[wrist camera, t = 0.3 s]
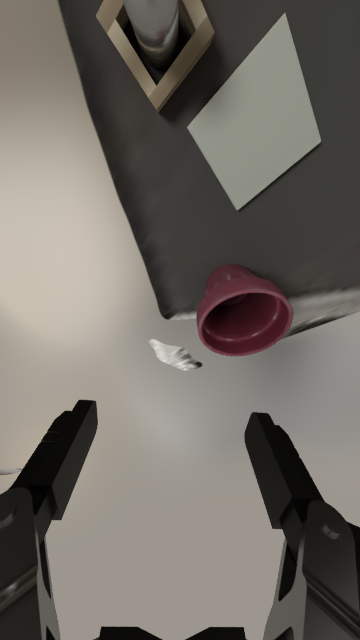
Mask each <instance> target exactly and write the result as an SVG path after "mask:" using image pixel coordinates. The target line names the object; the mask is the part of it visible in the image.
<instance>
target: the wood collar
mask: <svg viewBox="0 0 360 640" xmlns="http://www.w3.org/2000/svg"><path fill="white" fill-rule="evenodd" d="M179 12H180V14H181V16H182V18H183V20H184V22H185V24H186V26H187V28H188V30H189V32H190V34H191V36H192V37H191V38H190V40H189V41H188V43H187V44H186V45H185V47H184V48H183V50H182V51H181V52H180V54H179V55H178V57H177V58H176V59H175V61H174V62H173V64H172V65H171V66H170V68H169V69H168V71H167V72H166V73H165V75H164V76H163V78H162V79H161V81H160V82H159V83H158V85H157V86H156V85H155V83H154V81H153V80H152V78H151V77H150V75H149V73H148V72H147V70H146V68H145V67H144V65H143V64H142V62H141V60H140V59H139V57H138V55H137V54H136V52H135V50H134V49H133V47H132V46H131V44H130V42H129V41H128V39H127V37H126V36H125V34H124V33H123V30H124V28H125V26H126V25H127V23H128V21H129V16H128V14H127V11H126V9H125V6H124V3H123V1H122V0H104V1H103V3H102V5H101V7H100V9H99V11H98V13H97V15H96V17H97V19H98V20H99V22H100V24H101V25H102V27H103V28H104V30H105V31H106V33H107V34H108V36H109V37H110V39H111V41H112V42H113V44H114V45H115V47H116V48H117V50H118V51H119V53H120V54H121V56H122V58H123V59H124V61H125V62H126V64H127V65H128V67H129V68H130V70H131V71H132V73H133V75H134V76H135V78H136V79H137V81H138V82H139V84H140V85H141V87H142V88H143V90H144V92H145V93H146V95H147V96H148V98H149V99H150V101H151V102H152V104H153V106H154V107H155V109H156V110H157V112H158V113H159V111H160V110H161V109H162V108H163V106H164V105H165V104H166V102H167V101H168V100H169V98H170V97H171V96H172V94H173V93H174V92H175V90H176V89H177V88H178V86H179V85H180V84H181V83H182V81H183V80H184V79H185V77H186V76H187V75H188V73H189V72H190V71H191V69H192V68H193V67H194V65H195V64H196V63H197V61H198V60H199V59H200V58H201V56H202V55H203V54H204V52H205V51H206V50H207V48H208V47H209V46H210V44H211V42H212V39H213V36H214V33H215V32H214V30H213V28H212V25H211V23H210V21H209V18H208V16H207V14H206V11H205V9H204V7H203V4H202V2H201V0H179Z"/></svg>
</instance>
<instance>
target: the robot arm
mask: <svg viewBox="0 0 360 640" xmlns="http://www.w3.org/2000/svg"><path fill="white" fill-rule="evenodd" d="M97 425H98V419H97V407H96V401H92V400H79V401H78V402H77V403H76V405H75V407H74V408H73V410H72V411H64V412H63V413H62V414H61V415H60V416H59V417H57V418H56V419H55V420H54V422H53V423H52V425H51V426H50V428H49V429H48V432H47V433H46V434H45V436H44V437H43V439H42V440H41V443H40V444H39V445H38V447H37V448H36V450H35V451H34V453H33V454H32V456H31V457H30V459H29V460H28V462H27V464H26V465H25V467H24V468H23V470H22V471H21V473H20V474H19V476H18V477H17V479H16V481H15V482H14V483H13V485H12V486H11V487H10V488H9V489H8V490H7V491H5V492H4V493H2V494H0V640H60V632H59V626H58V620H57V614H56V610H55V606H54V599H53V593H52V585H51V577H50V569H49V561H48V555H47V547H46V538H45V535H46V532H47V530H48V528H49V525H50V523H51V520H61V519H62V517H63V514H64V511H65V509H66V507H67V504H68V502H69V499H70V497H71V494H72V492H73V489H74V487H75V484H76V482H77V479H78V477H79V474H80V472H81V469H82V467H83V464H84V462H85V459H86V456H87V454H88V451H89V449H90V447H91V444H92V442H93V439H94V436H95V434H96V430H97ZM245 444H246V448H247V450H248V454H249V457H250V460H251V463H252V466H253V469H254V472H255V476H256V479H257V482H258V485H259V488H260V491H261V494H262V497H263V500H264V504H265V506H266V510H267V513H268V516H269V519H270V522H271V525H272V528H273V529H282V530H283V532H284V535H285V541H284V545H283V550H282V556H281V562H280V568H279V573H278V579H277V585H276V591H275V597H274V602H273V605H272V608H271V611H270V614H269V616H268V620H267V623H266V627H265V632H264V637H263V640H360V527H358V526H355V525H353V524H351V523H349V522H347V521H346V520H345V519H344V518H343V517H342V515H341V514H340V513H339V512H338V511H337V510H336V509H335V508H333V507H332V506H331V505H329V504H327V503H326V502H325V501H324V500H323V498H322V496H321V495H320V493H319V491H318V489H317V487H316V485H315V483H314V482H313V480H312V478H311V476H310V474H309V472H308V471H307V469H306V467H305V465H304V463H303V462H302V460H301V458H300V457H299V454H298V452H297V450H296V449H295V448H294V445H293V443H292V441H291V439H290V438H289V436H288V434H287V433H286V432H285V431H284V430H283V429H282V428H281V427H280V426H279V425H274V423H273V421H272V419H271V417H270V415H269V414H268V413H257V412H253V413H252V414H251V416H250V419H249V422H248V424H247V427H246V430H245ZM94 640H162V639H160V638H158V637H156V636H154V635H152V634H150V633H148V632H147V631H145V630H143V629H141V628H139V627H101V631H100V636H99V637H98V638H96V639H94ZM186 640H246V638H245V632H244V627H209V628H207V629H205V630H203V631H201V632H199V633H197V634H195V635H194V636H191V637H190V638H188V639H186Z"/></svg>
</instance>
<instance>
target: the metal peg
mask: <svg viewBox="0 0 360 640" xmlns="http://www.w3.org/2000/svg"><path fill="white" fill-rule="evenodd" d="M122 1H123V3H124V6H125V9H126V11H127V14H128V16H129V19H130V22H131V24H132V27H133V29H134V32H135V35H136V37H137V40H138V42H139V45H140V48H141V50H142V53H143V55H144V57H145V59H146V60H147V62H148V63H149V64H150V65H151V66H153V67H155V68H158V69H161V68H165V67H167V66H168V65H169V64H170V63H171V62H172V60H173V59H174V56H175V54H176V51H177V46H178V11H179V0H122Z"/></svg>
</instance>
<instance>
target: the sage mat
mask: <svg viewBox="0 0 360 640" xmlns="http://www.w3.org/2000/svg"><path fill="white" fill-rule="evenodd" d="M187 129H188V130H189V132H190V134H191V135H192V137H193V139H194V140H195V142H196V144H197V145H198V147H199V149H200V150H201V152H202V154H203V155H204V157H205V159H206V160H207V162H208V164H209V165H210V167H211V169H212V170H213V172H214V174H215V175H216V177H217V179H218V180H219V182H220V184H221V185H222V187H223V189H224V190H225V192H226V194H227V195H228V197H229V199H230V200H231V202H232V204H233V205H234V207H235V209H236V210H239V209H240V208H241V207H242V206H244V205H245V204H246V203H247V202H248V201H250V200H251V199H252V198H253V197H254V196H256V195H257V194H258V193H259V192H261V191H262V190H263V189H264V188H265V187H267V186H268V185H269V184H270V183H271V182H273V181H274V180H275V179H276V178H278V177H279V176H280V175H281V174H282V173H284V172H285V171H286V170H287V169H288V168H290V167H291V166H292V165H293V164H295V163H296V162H297V161H298V160H299V159H301V158H302V157H303V156H304V155H305V154H307V153H308V152H309V151H310V150H312V149H313V148H314V147H315V146H316V145H318V144H319V143H320V142H321V139H320V135H319V132H318V128H317V124H316V121H315V117H314V114H313V110H312V107H311V103H310V100H309V96H308V92H307V89H306V85H305V82H304V78H303V75H302V71H301V68H300V64H299V60H298V57H297V53H296V50H295V46H294V43H293V39H292V36H291V32H290V29H289V25H288V21H287V18H286V14H285V13H284V14H283V15H282V17H281V18H280V19H279V20H278V21H277V22H276V24H275V25H274V26H273V27H272V28H271V30H270V31H269V32H268V33H267V34H266V35H265V37H264V38H263V39H262V40H261V41H260V42H259V44H258V45H257V46H256V47H255V48H254V49H253V51H252V52H251V53H250V54H249V55H248V56H247V58H246V59H245V60H244V61H243V62H242V63H241V65H240V66H239V67H238V68H237V69H236V70H235V72H234V73H233V74H232V75H231V76H230V78H229V79H228V80H227V81H226V82H225V83H224V85H223V86H222V87H221V88H220V89H219V90H218V92H217V93H216V94H215V95H214V96H213V97H212V99H211V100H210V101H209V102H208V103H207V104H206V106H205V107H204V108H203V109H202V110H201V111H200V113H199V114H198V115H197V116H196V117H195V118H194V120H193V121H192V122H191V123H190V124H189V126H188V127H187Z"/></svg>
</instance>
